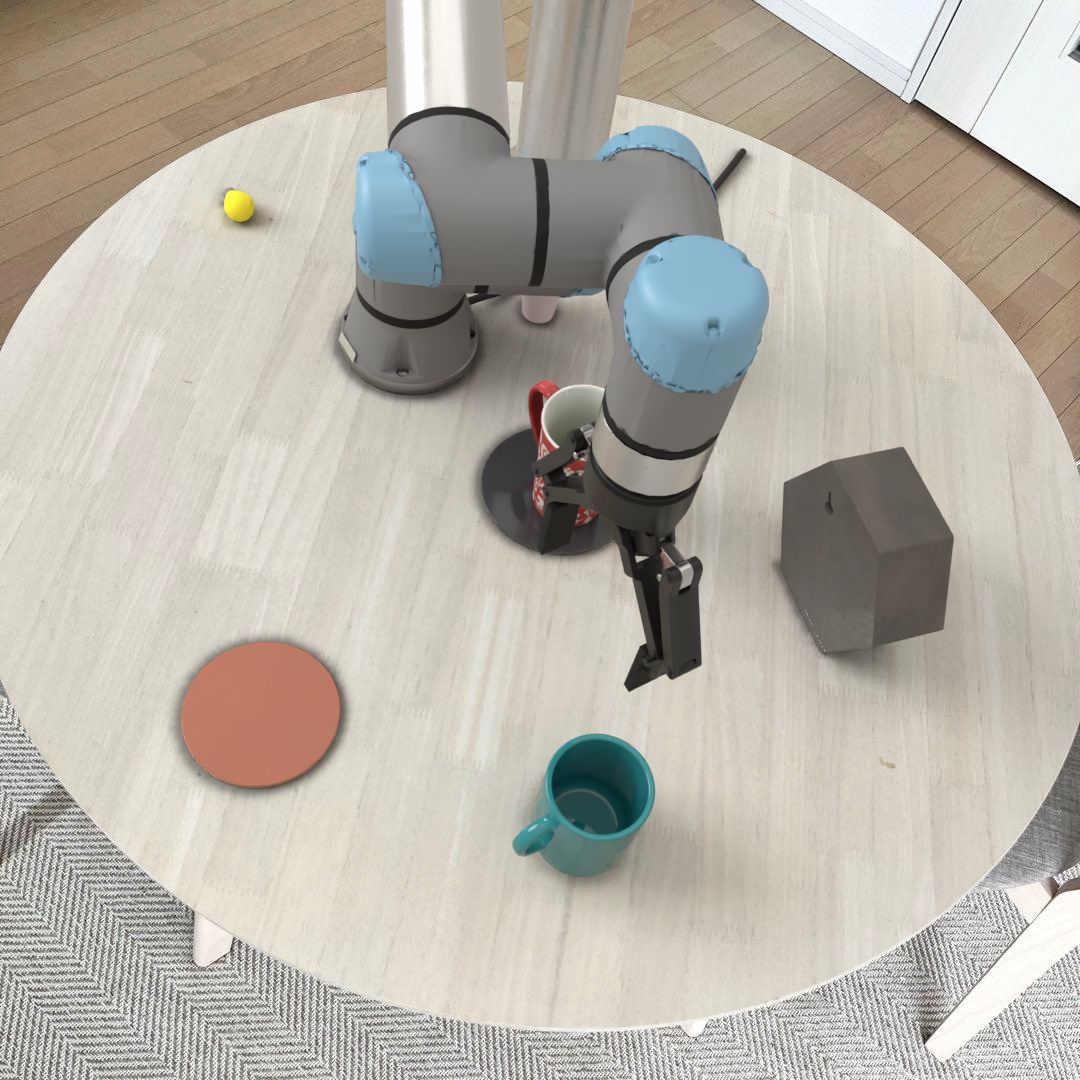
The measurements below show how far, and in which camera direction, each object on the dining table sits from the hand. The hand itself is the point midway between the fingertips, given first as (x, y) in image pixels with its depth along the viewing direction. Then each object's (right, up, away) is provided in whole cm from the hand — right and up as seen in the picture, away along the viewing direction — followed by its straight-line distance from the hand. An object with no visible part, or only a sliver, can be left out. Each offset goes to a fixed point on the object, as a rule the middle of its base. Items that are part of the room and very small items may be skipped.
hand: (595, 611), depth 90 cm
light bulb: (-41, +45, +45) cm, 75 cm away
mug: (-3, +11, +29) cm, 31 cm away
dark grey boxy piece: (+25, 0, +26) cm, 37 cm away
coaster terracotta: (-30, -10, +12) cm, 34 cm away
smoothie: (-5, +32, +42) cm, 53 cm away
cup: (-2, -21, +10) cm, 23 cm away
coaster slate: (-3, +11, +29) cm, 31 cm away
